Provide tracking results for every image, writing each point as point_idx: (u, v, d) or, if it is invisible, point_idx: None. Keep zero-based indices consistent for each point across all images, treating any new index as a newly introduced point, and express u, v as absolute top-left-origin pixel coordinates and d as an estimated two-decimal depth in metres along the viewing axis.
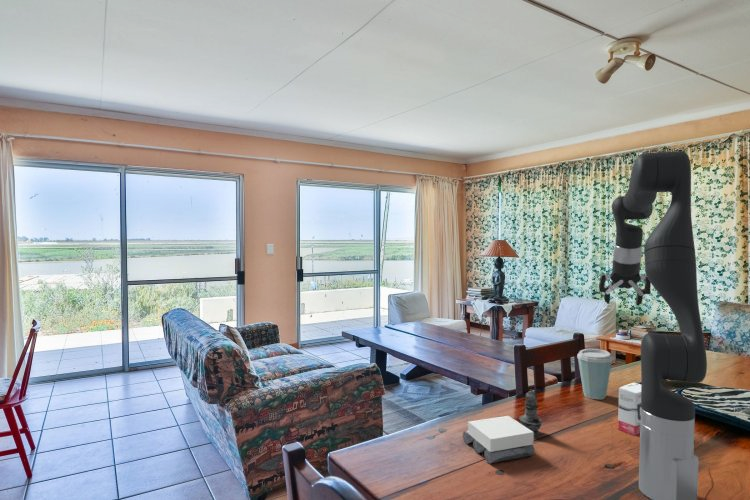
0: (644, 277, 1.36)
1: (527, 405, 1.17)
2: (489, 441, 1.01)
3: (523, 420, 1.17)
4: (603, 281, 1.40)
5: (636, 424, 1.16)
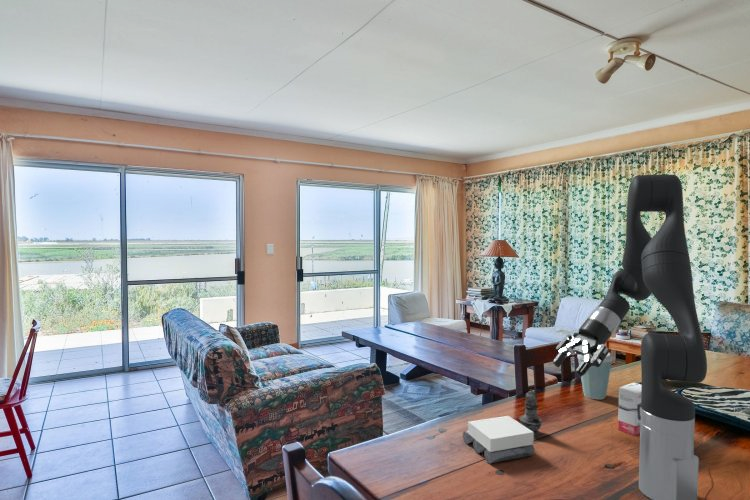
0: None
1: (527, 405, 1.17)
2: (489, 441, 1.01)
3: (523, 420, 1.17)
4: (565, 339, 1.28)
5: (636, 424, 1.16)
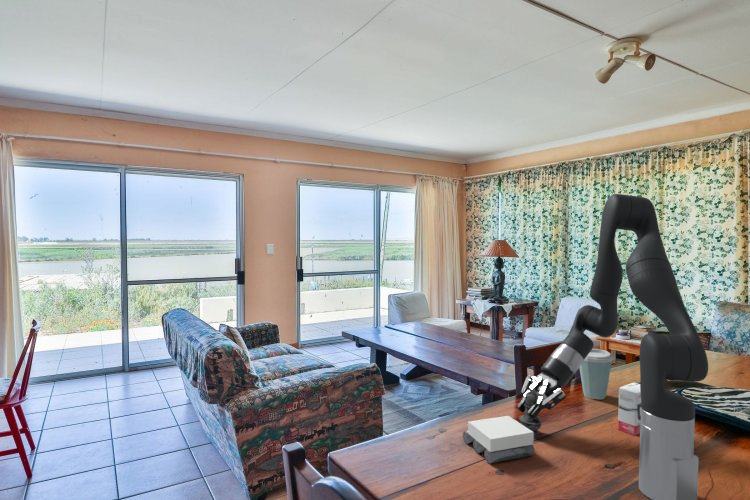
0: None
1: (527, 405, 1.17)
2: (489, 441, 1.01)
3: (523, 420, 1.17)
4: (527, 380, 1.23)
5: (636, 424, 1.16)
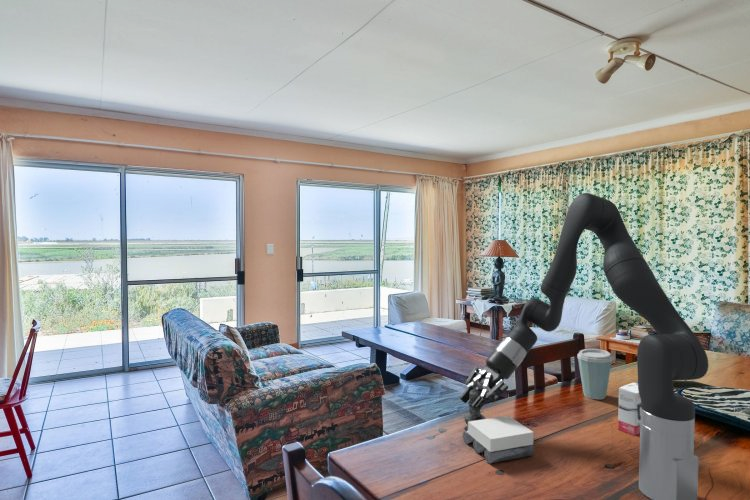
0: None
1: (470, 403, 1.18)
2: (489, 441, 1.01)
3: (466, 418, 1.18)
4: (473, 372, 1.25)
5: (636, 424, 1.16)
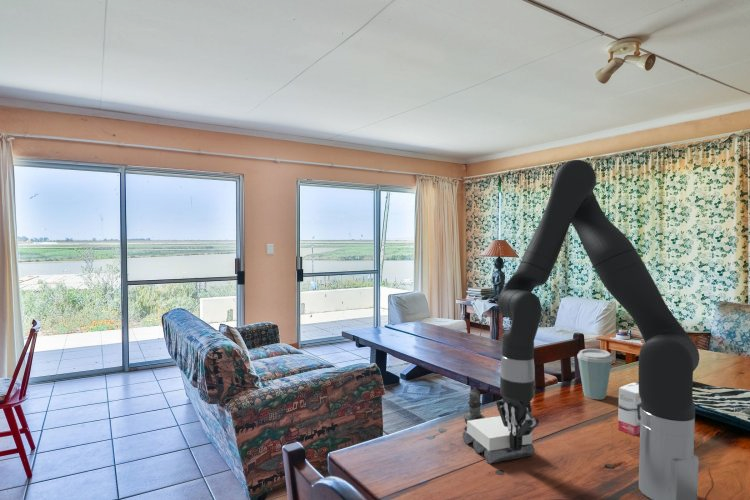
0: None
1: (470, 403, 1.18)
2: (488, 441, 1.02)
3: (466, 418, 1.18)
4: None
5: (636, 424, 1.16)
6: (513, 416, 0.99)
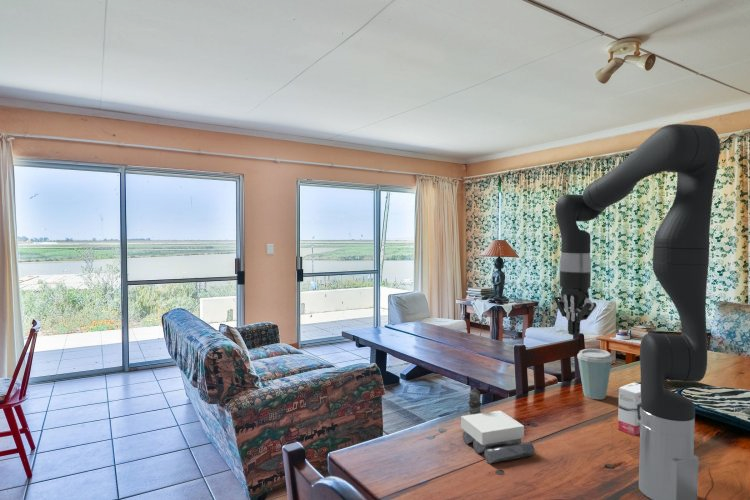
0: None
1: (470, 403, 1.18)
2: (481, 435, 1.04)
3: None
4: None
5: (636, 424, 1.16)
6: (572, 304, 1.14)
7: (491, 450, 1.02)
